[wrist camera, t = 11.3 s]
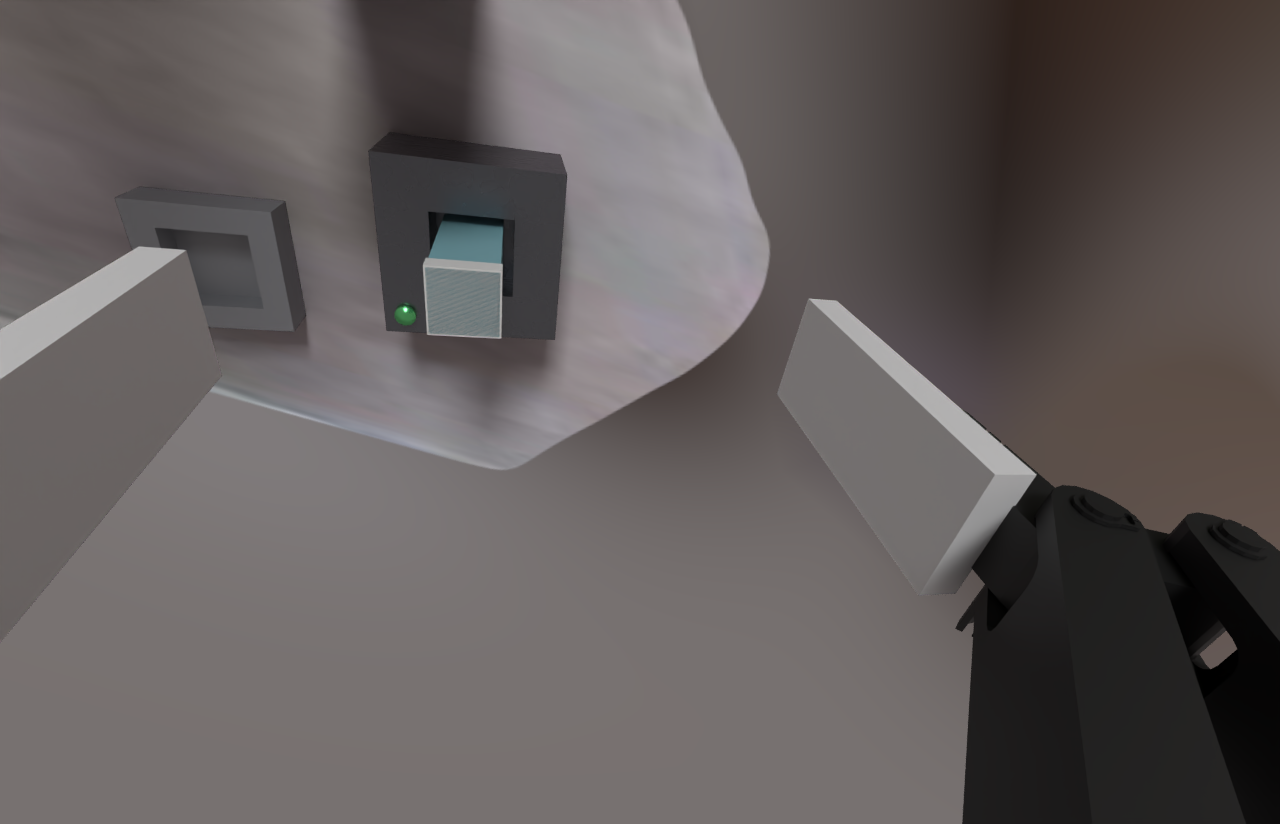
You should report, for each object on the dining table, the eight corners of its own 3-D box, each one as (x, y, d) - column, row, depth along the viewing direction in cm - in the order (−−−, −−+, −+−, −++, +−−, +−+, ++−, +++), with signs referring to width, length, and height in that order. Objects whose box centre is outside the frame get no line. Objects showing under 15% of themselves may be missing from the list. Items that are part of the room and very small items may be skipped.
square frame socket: (139, 186, 39) (114, 197, 37) (285, 201, 41) (270, 212, 39) (177, 307, 44) (157, 324, 42) (305, 315, 46) (294, 331, 44)
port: (389, 132, 40) (366, 152, 34) (560, 154, 43) (567, 176, 37) (402, 293, 46) (385, 333, 40) (550, 302, 49) (555, 342, 43)
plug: (444, 206, 41) (422, 265, 31) (505, 212, 42) (502, 271, 32) (447, 263, 43) (427, 334, 33) (504, 268, 44) (501, 338, 34)
